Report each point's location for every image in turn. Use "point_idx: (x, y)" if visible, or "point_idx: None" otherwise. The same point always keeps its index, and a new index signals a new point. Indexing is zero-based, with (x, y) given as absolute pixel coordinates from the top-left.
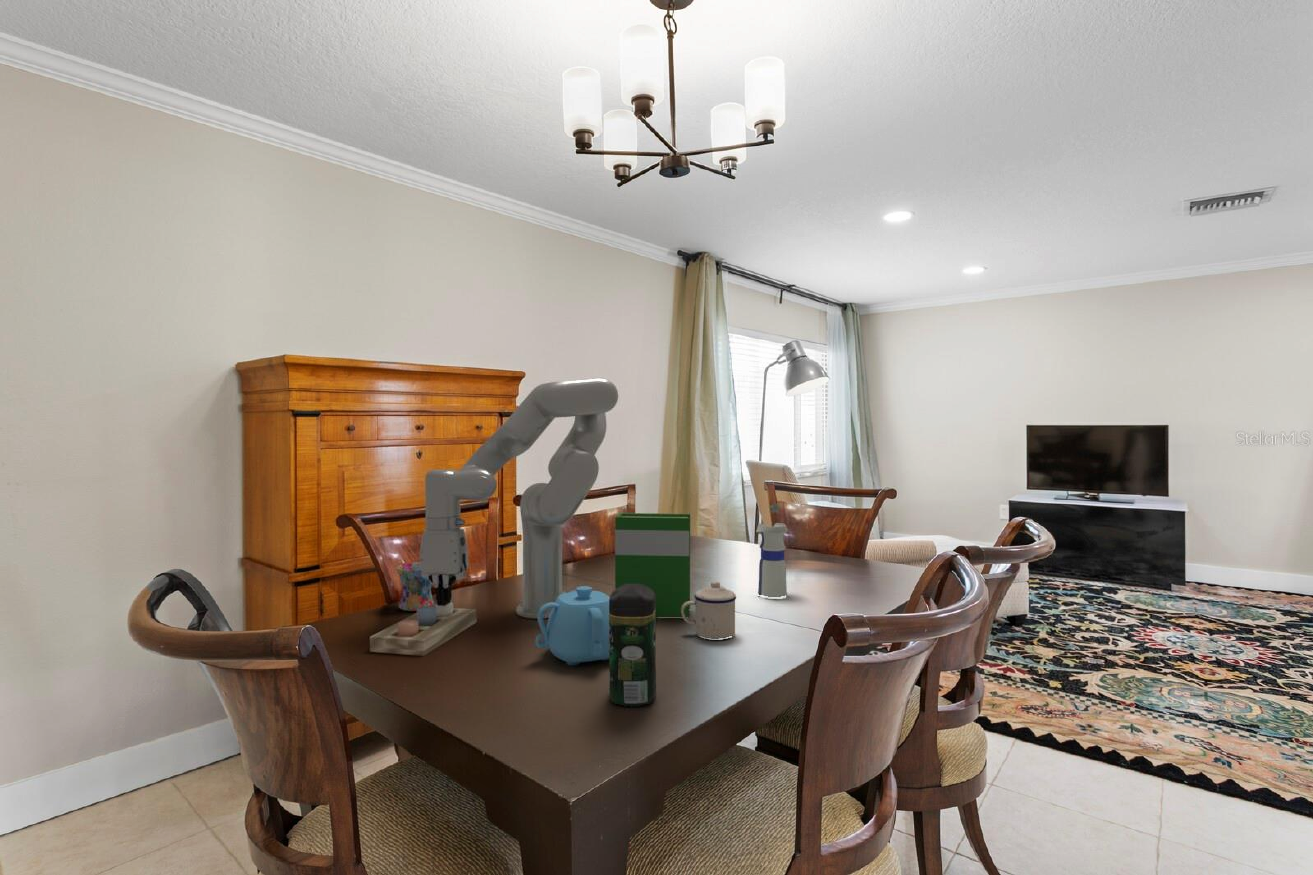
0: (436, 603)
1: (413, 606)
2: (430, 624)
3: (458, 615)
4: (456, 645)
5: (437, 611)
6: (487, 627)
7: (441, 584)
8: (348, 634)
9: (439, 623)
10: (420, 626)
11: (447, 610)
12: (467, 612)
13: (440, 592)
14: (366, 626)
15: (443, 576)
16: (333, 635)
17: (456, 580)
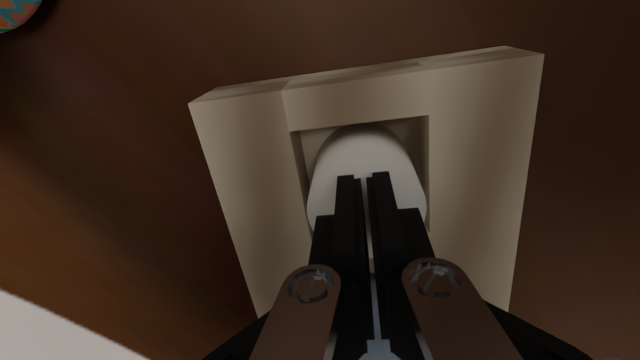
0: (307, 210)
1: (7, 13)
2: None
3: (478, 201)
4: (539, 313)
5: None
6: (605, 103)
7: (364, 344)
8: (114, 311)
9: None
10: None
11: None
12: (508, 137)
13: (372, 310)
14: (78, 243)
15: (326, 349)
16: (86, 326)
17: (539, 330)
